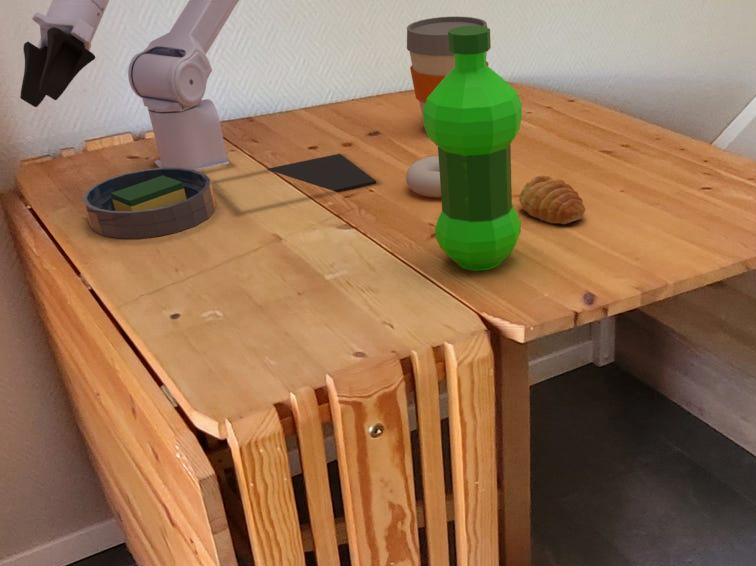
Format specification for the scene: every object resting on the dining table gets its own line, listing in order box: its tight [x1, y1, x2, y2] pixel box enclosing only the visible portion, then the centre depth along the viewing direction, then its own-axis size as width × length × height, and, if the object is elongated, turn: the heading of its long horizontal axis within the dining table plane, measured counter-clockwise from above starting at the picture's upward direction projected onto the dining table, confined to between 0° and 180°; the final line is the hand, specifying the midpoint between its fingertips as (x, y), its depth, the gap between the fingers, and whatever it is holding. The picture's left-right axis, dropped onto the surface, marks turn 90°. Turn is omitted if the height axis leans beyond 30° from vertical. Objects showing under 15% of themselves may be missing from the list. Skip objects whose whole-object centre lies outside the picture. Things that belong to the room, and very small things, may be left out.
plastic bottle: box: [423, 26, 523, 272], centre depth 106 cm, size 10×10×25 cm
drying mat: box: [266, 153, 377, 193], centre depth 137 cm, size 20×14×1 cm
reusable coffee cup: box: [406, 15, 489, 132], centre depth 149 cm, size 13×13×15 cm
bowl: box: [81, 167, 217, 240], centre depth 127 cm, size 16×16×4 cm
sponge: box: [111, 175, 187, 211], centre depth 127 cm, size 8×5×4 cm, turn 138°
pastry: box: [518, 175, 586, 225], centre depth 122 cm, size 9×7×4 cm
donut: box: [405, 155, 441, 199], centre depth 132 cm, size 10×3×10 cm
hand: (38, 99), depth 121 cm, fingers open, 7 cm apart
